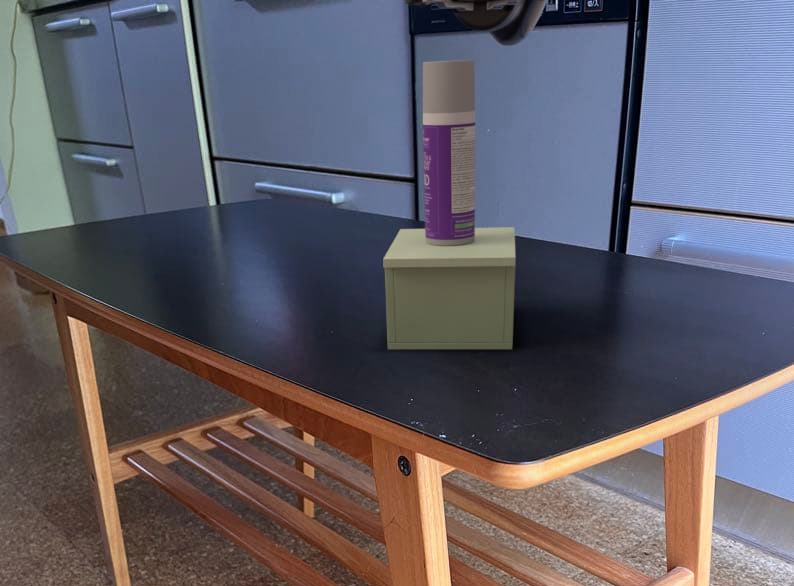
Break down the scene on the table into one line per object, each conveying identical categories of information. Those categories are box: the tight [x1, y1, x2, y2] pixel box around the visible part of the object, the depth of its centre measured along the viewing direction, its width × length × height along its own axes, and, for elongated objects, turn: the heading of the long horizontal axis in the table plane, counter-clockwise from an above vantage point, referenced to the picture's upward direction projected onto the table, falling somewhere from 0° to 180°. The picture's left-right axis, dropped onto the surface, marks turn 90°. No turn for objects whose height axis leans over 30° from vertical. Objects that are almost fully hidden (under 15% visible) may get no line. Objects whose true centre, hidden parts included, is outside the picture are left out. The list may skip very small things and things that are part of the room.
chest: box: [384, 265, 516, 350], centre depth 85 cm, size 14×12×8 cm
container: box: [422, 59, 476, 246], centre depth 79 cm, size 5×5×15 cm
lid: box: [382, 226, 517, 269], centre depth 83 cm, size 14×12×1 cm
